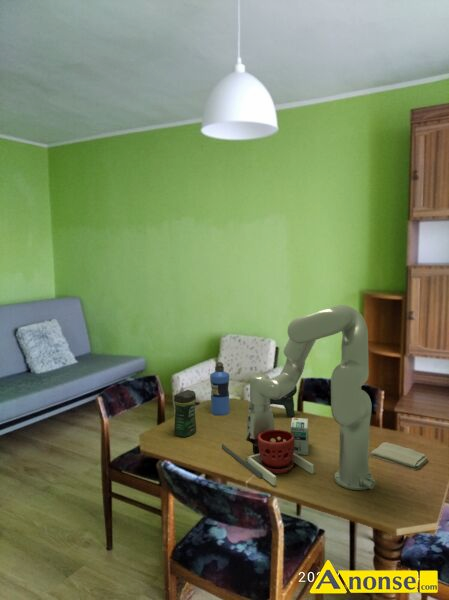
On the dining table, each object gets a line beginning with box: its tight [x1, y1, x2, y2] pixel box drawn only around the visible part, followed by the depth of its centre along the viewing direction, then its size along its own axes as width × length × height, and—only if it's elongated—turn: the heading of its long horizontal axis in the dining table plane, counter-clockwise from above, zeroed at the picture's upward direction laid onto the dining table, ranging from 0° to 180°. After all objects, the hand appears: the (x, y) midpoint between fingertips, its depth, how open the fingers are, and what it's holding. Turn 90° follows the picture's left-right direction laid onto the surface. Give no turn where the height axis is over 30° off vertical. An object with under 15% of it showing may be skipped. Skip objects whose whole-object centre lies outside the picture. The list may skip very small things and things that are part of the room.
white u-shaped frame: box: [246, 453, 315, 486], centre depth 159 cm, size 22×17×6 cm
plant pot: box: [258, 429, 295, 474], centre depth 159 cm, size 13×13×12 cm
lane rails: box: [221, 440, 273, 480], centre depth 168 cm, size 28×19×2 cm
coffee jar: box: [173, 389, 197, 438], centre depth 190 cm, size 10×8×19 cm
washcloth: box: [369, 441, 429, 471], centre depth 165 cm, size 12×18×3 cm, turn 47°
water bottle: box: [209, 361, 230, 417], centre depth 214 cm, size 9×9×25 cm
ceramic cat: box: [270, 385, 298, 419], centre depth 208 cm, size 20×6×20 cm, turn 89°
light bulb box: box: [290, 417, 309, 456], centre depth 174 cm, size 11×7×11 cm, turn 168°
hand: (260, 452), depth 168 cm, fingers closed on white u-shaped frame, 3 cm apart
